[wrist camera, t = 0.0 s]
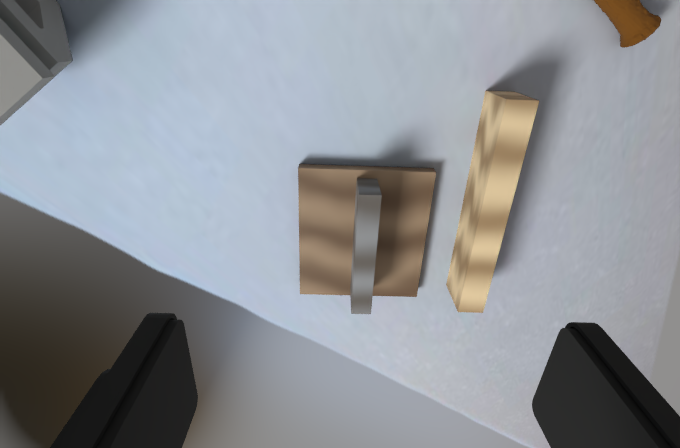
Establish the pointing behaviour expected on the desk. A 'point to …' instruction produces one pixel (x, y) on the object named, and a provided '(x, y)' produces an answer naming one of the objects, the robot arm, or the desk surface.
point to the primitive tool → (630, 20)
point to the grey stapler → (29, 50)
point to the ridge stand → (362, 230)
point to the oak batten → (489, 195)
